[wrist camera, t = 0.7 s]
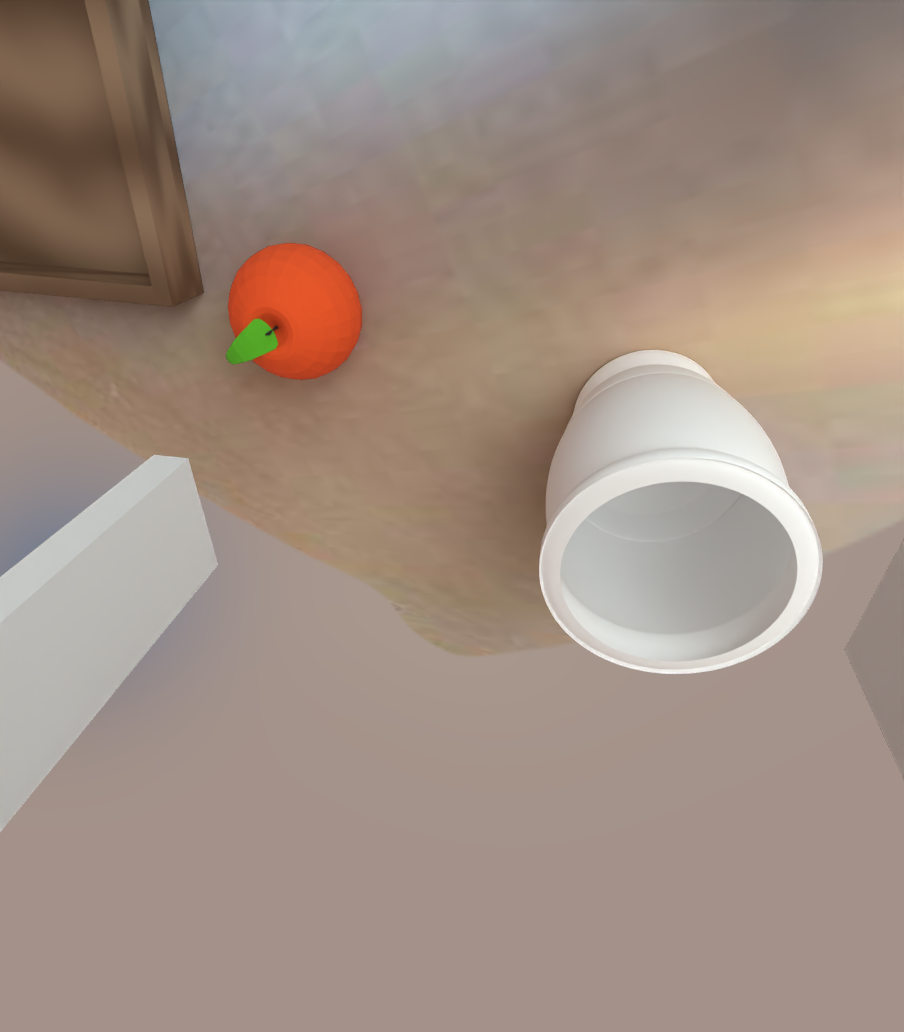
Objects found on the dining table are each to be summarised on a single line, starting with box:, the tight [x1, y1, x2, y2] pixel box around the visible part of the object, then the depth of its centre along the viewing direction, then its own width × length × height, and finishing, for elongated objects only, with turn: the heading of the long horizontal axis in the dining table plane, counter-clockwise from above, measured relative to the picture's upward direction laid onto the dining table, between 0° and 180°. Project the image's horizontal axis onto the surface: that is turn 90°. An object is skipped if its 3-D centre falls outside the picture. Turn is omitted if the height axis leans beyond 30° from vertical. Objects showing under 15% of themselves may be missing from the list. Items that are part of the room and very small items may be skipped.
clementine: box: [226, 243, 362, 380], centre depth 32 cm, size 8×7×7 cm
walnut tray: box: [0, 0, 204, 307], centre depth 31 cm, size 16×16×3 cm
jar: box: [539, 350, 823, 674], centre depth 29 cm, size 11×10×15 cm
